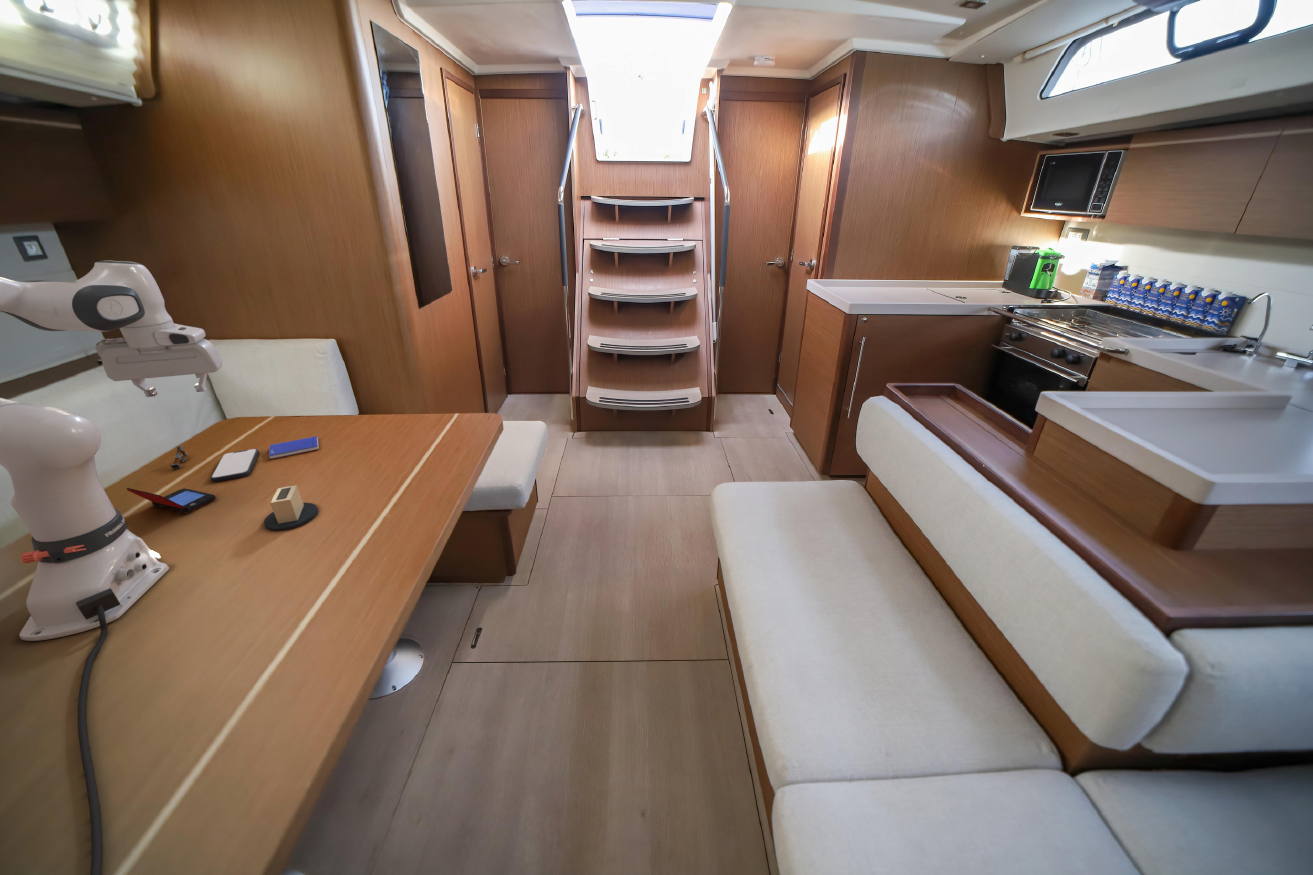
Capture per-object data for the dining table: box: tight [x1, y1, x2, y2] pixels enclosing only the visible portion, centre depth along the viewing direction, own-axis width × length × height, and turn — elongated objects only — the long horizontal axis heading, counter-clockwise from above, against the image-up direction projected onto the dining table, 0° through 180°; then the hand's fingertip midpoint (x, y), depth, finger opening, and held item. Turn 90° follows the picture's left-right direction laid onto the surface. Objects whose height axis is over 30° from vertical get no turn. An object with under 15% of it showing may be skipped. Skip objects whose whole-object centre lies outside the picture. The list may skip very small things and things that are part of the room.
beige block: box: [269, 484, 304, 524], centre depth 122 cm, size 4×8×6 cm, turn 22°
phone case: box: [210, 448, 260, 483], centre depth 145 cm, size 9×2×16 cm
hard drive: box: [268, 435, 319, 460], centre depth 155 cm, size 2×8×12 cm
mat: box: [263, 502, 319, 532], centre depth 123 cm, size 11×11×1 cm
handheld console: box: [126, 487, 217, 514], centre depth 126 cm, size 12×11×7 cm
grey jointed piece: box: [169, 444, 189, 470], centre depth 147 cm, size 2×8×4 cm, turn 22°
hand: (177, 393), depth 118 cm, fingers open, 8 cm apart
